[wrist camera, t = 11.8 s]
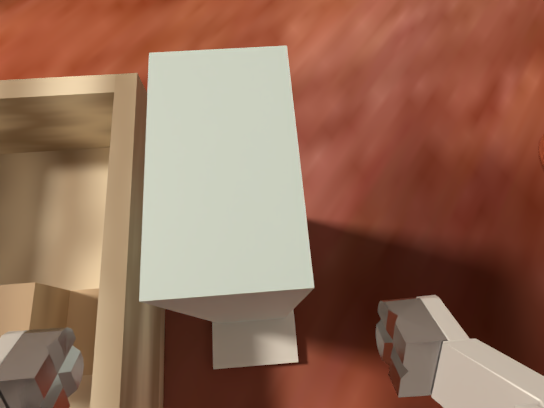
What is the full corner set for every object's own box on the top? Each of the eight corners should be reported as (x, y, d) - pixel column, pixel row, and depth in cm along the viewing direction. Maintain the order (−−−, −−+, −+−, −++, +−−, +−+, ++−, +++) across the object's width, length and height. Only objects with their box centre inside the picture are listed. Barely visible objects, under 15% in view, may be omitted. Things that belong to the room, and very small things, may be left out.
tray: (-88, 432, 21) (-251, 476, 14) (-27, 148, 27) (-122, 86, 20) (163, 410, 21) (117, 443, 15) (168, 136, 28) (137, 73, 21)
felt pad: (214, 368, 22) (213, 369, 22) (210, 183, 26) (208, 180, 26) (297, 361, 22) (298, 362, 22) (280, 178, 26) (281, 175, 26)
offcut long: (-56, 383, 21) (-127, 392, 17) (-42, 309, 22) (-105, 303, 18) (124, 367, 21) (93, 374, 18) (127, 296, 23) (100, 288, 19)
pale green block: (218, 323, 23) (139, 301, 8) (215, 214, 25) (149, 52, 11) (284, 318, 23) (314, 287, 9) (275, 209, 25) (287, 45, 11)
